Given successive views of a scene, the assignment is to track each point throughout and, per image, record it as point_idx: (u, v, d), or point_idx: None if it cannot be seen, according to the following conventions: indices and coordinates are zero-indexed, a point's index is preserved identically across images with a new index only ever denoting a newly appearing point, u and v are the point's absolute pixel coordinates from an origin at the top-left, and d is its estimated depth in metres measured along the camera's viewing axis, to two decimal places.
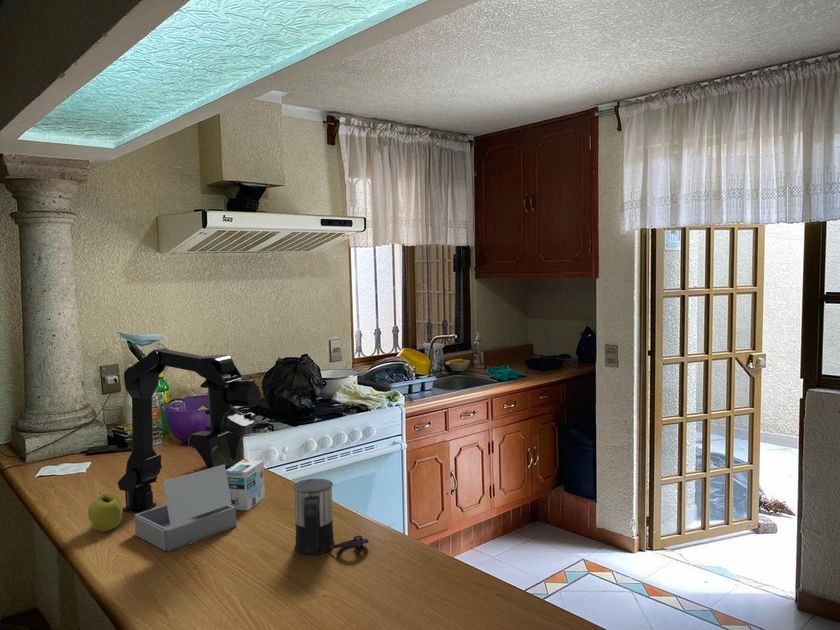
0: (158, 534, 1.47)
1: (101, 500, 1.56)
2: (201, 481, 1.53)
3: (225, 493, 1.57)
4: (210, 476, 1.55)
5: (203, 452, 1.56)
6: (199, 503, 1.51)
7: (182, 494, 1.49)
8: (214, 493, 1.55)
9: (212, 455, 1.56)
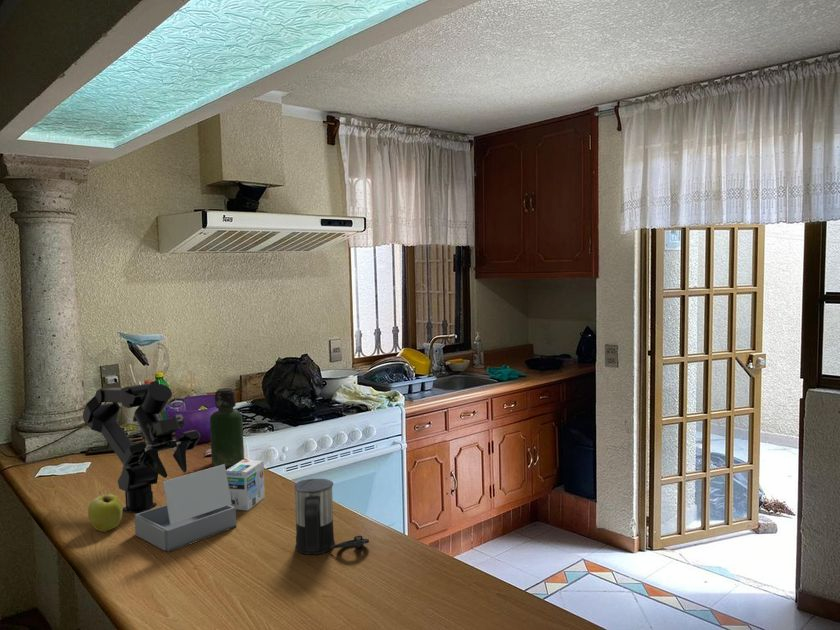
0: (158, 534, 1.47)
1: (101, 500, 1.56)
2: (201, 481, 1.53)
3: (225, 493, 1.57)
4: (210, 476, 1.55)
5: (152, 464, 1.58)
6: (199, 503, 1.51)
7: (182, 494, 1.49)
8: (214, 493, 1.55)
9: (157, 461, 1.57)
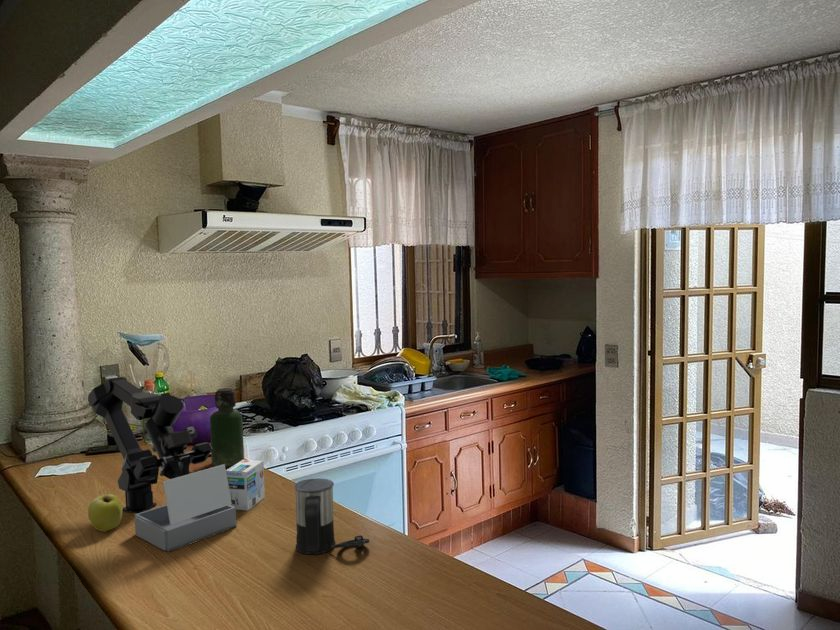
0: (158, 534, 1.47)
1: (101, 500, 1.56)
2: (201, 481, 1.53)
3: (225, 493, 1.57)
4: (210, 476, 1.55)
5: (172, 475, 1.56)
6: (199, 503, 1.51)
7: (182, 494, 1.49)
8: (214, 493, 1.55)
9: (178, 472, 1.55)
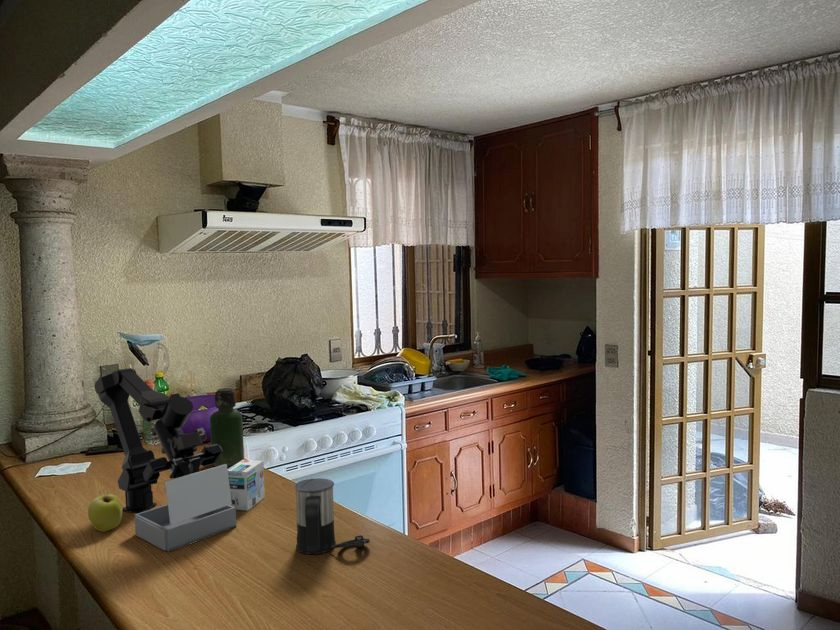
0: (158, 534, 1.47)
1: (101, 500, 1.56)
2: (203, 481, 1.53)
3: (226, 494, 1.57)
4: (212, 476, 1.54)
5: None
6: (200, 503, 1.51)
7: (183, 494, 1.48)
8: (215, 493, 1.55)
9: (188, 474, 1.52)
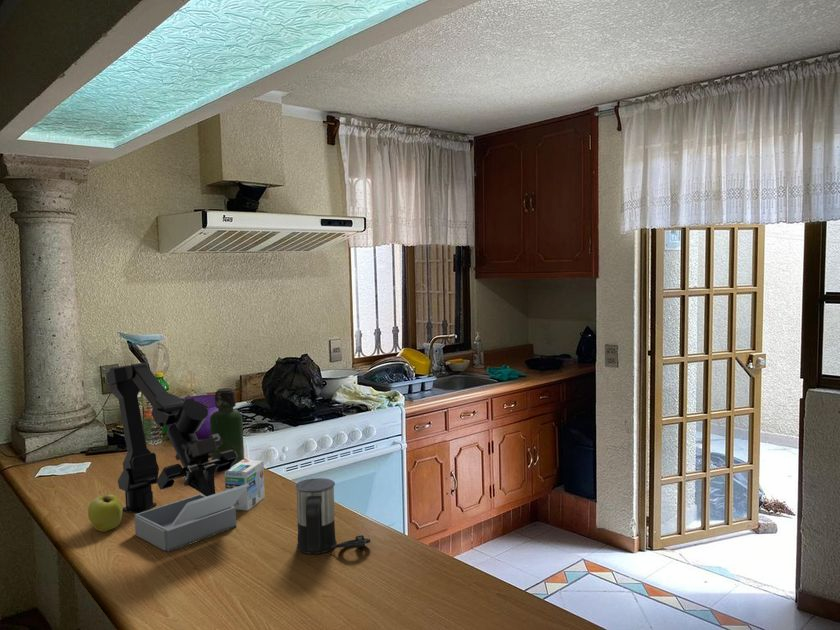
0: (158, 534, 1.47)
1: (101, 500, 1.56)
2: (220, 498, 1.48)
3: (233, 501, 1.55)
4: (230, 494, 1.50)
5: (197, 485, 1.49)
6: (206, 511, 1.50)
7: (196, 509, 1.45)
8: (224, 503, 1.52)
9: (203, 482, 1.48)
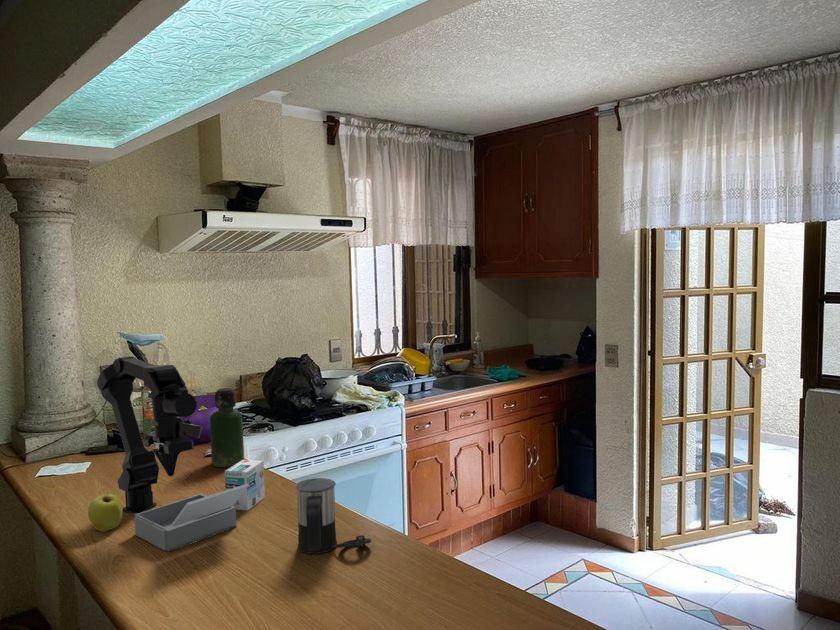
0: (158, 534, 1.47)
1: (101, 500, 1.56)
2: (220, 498, 1.48)
3: (233, 501, 1.55)
4: (230, 494, 1.50)
5: (167, 458, 1.59)
6: (206, 511, 1.50)
7: (196, 509, 1.45)
8: (224, 503, 1.52)
9: None
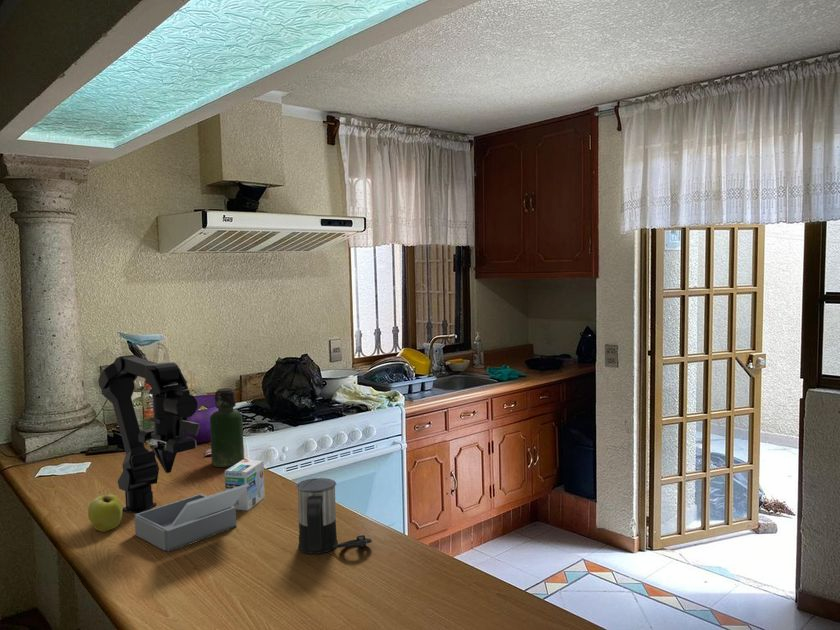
0: (158, 534, 1.47)
1: (101, 500, 1.56)
2: (220, 498, 1.48)
3: (233, 501, 1.55)
4: (230, 494, 1.50)
5: (166, 455, 1.60)
6: (206, 511, 1.50)
7: (196, 509, 1.45)
8: (224, 503, 1.52)
9: None
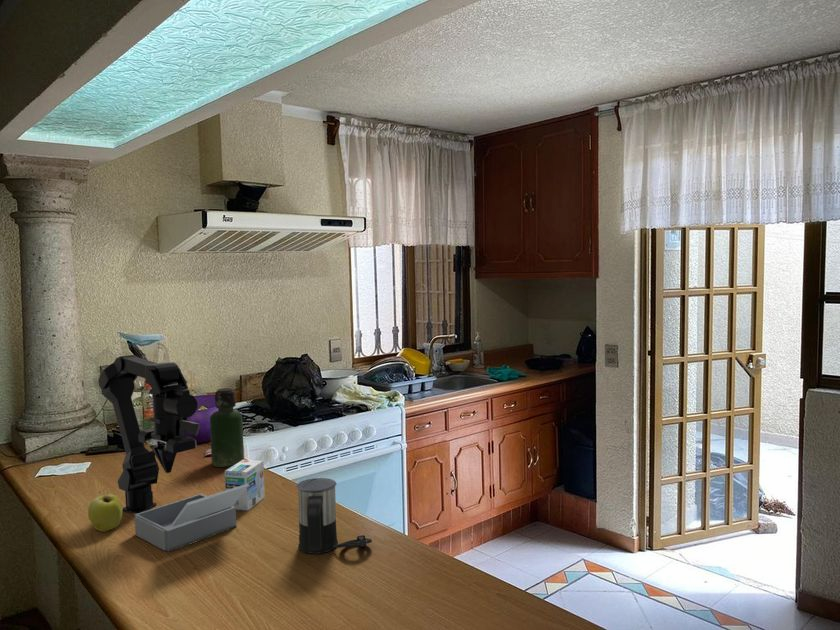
0: (158, 534, 1.47)
1: (101, 500, 1.56)
2: (220, 498, 1.48)
3: (233, 501, 1.55)
4: (230, 494, 1.50)
5: (166, 455, 1.60)
6: (206, 511, 1.50)
7: (196, 509, 1.45)
8: (224, 503, 1.52)
9: None
